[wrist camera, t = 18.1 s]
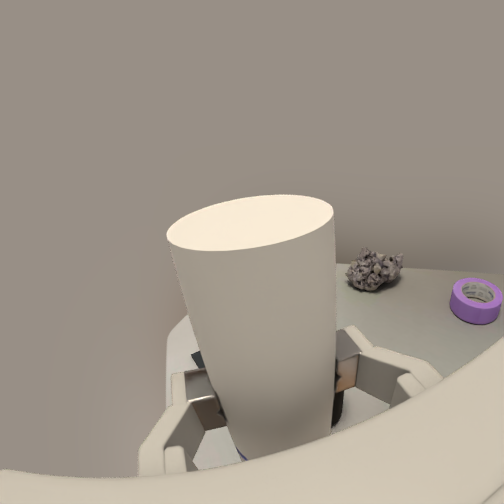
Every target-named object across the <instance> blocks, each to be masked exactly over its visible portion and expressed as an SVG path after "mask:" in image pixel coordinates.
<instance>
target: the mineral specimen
mask: <svg viewBox="0 0 504 504" xmlns="http://www.w3.org/2000/svg"><path fill="white" fill-rule="evenodd" d="M385 258H386V255H384V254H379V253H378V252H377V251H376V252H375V253H374V252H371V251H369V250H368V249H367V248H366V247H363V248H362V251H361V253H360V254H358V257H357V258H356V259H355V260H352V262H351V266H350V267H349V269H348V272H347V273H345V274H346V276H347V277H348V279H349V280H350V281H351V282H352V283H353V285H354V286H355V287H357V288H360V289H365V290H367V291H369V290H370V291H373V290H376V289H377V287H378V286H379V285H380V284H382V283H384V282H386V283H390V282H391V281H393V280H394V278H396V277H397V276H398V274H399V273H400V269H401V268H403V267H402V259H403V255H402V253H399V254H398V255H397V256H392V257H390V261H389V260H388V259H385Z"/></svg>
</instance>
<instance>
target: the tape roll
mask: <svg viewBox="0 0 504 504" xmlns="http://www.w3.org/2000/svg"><path fill="white" fill-rule="evenodd" d="M467 297H476V298H479V299H482V300H483V301H485V303H481V302H476V301H473V300H470V299H469V298H467ZM502 299H503V296H502V293H501V291H500V290H499V288H498V287H496V286H495V285H494V284H492V283H490V282H488V281H486V280H483V279H478V278H464V279H461V280H459V281H457V282H456V283H455V284H454V286H453V290H452V295H451V300H450V307H451V310H452V311H453V313H454V314H455V315H456V316H458V317H459V318H460V319H462V320H464V321H466V322H469V323H473V324H487V323H490V322H492V321H494V320H495V319H496V318H497V316H498V313H499V310H500V307H501V303H502Z"/></svg>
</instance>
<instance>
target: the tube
mask: <svg viewBox="0 0 504 504" xmlns="http://www.w3.org/2000/svg"><path fill="white" fill-rule="evenodd" d="M167 239H168V243H169V247H170V251H171V254H172V259H173V262H174V266H175V269H176V273H177V276H178V281H179V284H180V288H181V291H182V295H183V298H184V301H185V305H186V308H187V311H188V315H189V318H190V321H191V324H192V328H193V331H194V334H195V337H196V340H197V343H198V346H199V349H200V352H201V355H202V358H203V361H204V364H205V367H206V370H207V373H208V376H209V379H210V382H211V384H212V386H213V389H214V390H215V393H216V395H217V398H218V401H219V404H220V407H221V409H222V412H223V414H224V417H225V420H226V424H227V427H228V430H229V432H230V435H231V437H232V439H233V442H234V444H235V446H236V449H237V451H238V453H239V456H240V458H241V461H242V462H243V461H247V460H251V459H256V458H259V457H263V456H267V455H271V454H274V453H278V452H281V451H285V450H288V449H291V448H294V447H297V446H300V445H304V444H306V443H309V442H312V441H315V440H318V439H321V438H324V437H326V436H329V435H330V432H331V421H332V410H333V396H334V379H335V355H336V257H335V256H336V255H335V232H334V213H333V208H332V207H331V205H329V204H328V203H326V202H325V201H322V200H320V199H317V198H312V197H307V196H299V195H265V196H255V197H248V198H242V199H236V200H231V201H227V202H223V203H219V204H216V205H212V206H209V207H206V208H203V209H200V210H197V211H195V212H193V213H191V214H188V215H186V216H185V217H183V218H181V219H179V220H178V221H177V222H175V223H174V224H173V225H172V226H171V227H170V228H169V230H168V232H167Z"/></svg>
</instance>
